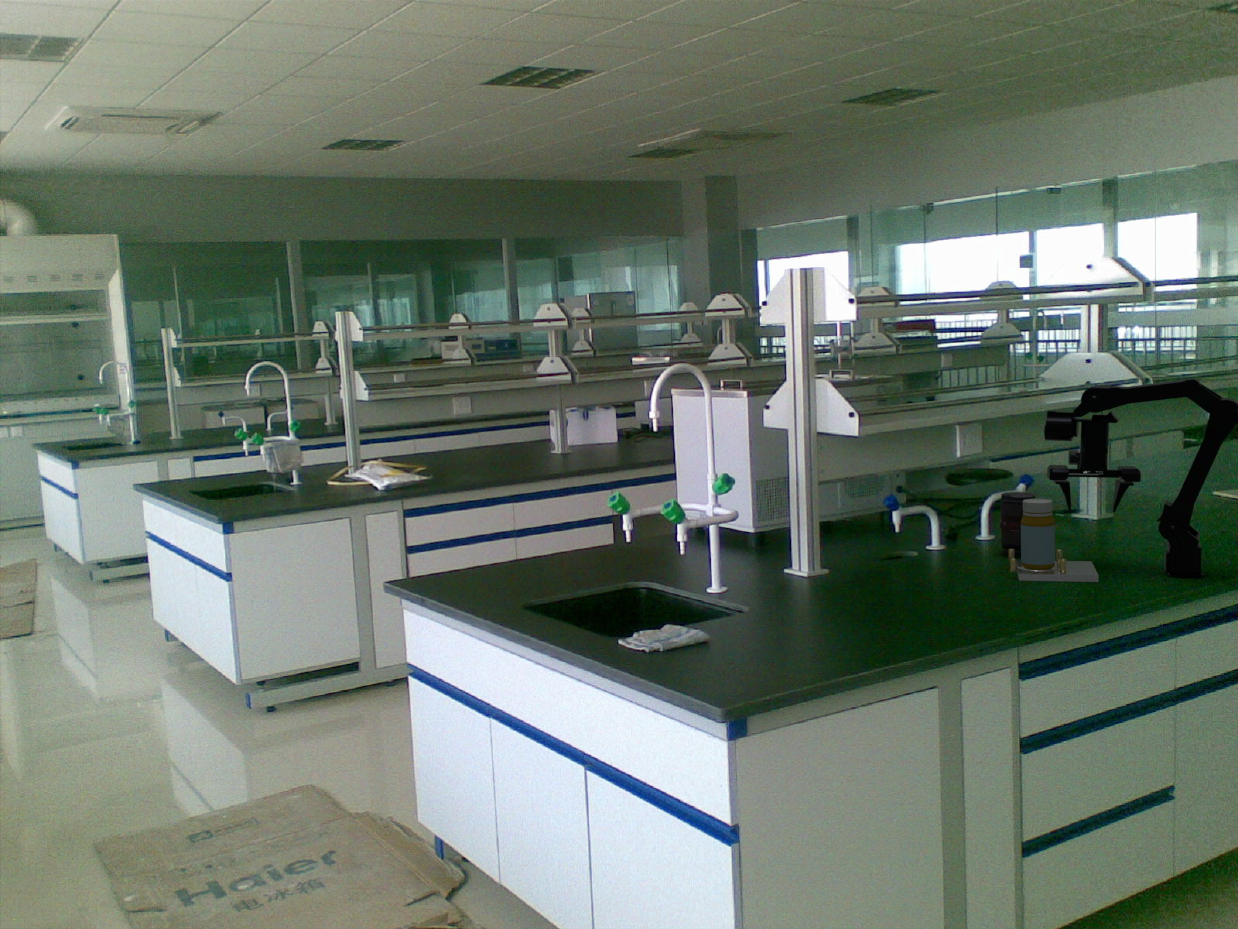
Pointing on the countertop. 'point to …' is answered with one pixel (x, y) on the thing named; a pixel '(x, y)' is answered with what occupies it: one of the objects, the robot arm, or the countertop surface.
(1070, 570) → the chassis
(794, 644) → the countertop surface
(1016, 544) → the camera lens
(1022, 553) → the bottle
